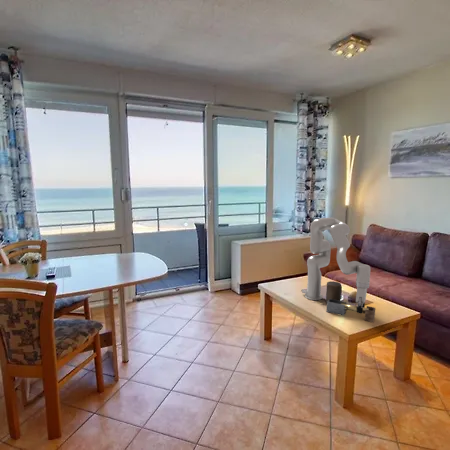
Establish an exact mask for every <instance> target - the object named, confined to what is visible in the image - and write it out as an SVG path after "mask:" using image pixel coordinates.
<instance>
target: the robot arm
mask: <svg viewBox="0 0 450 450" xmlns="http://www.w3.org/2000/svg"><path fill="white" fill-rule="evenodd" d="M309 228H310V238H309V239H310V240H309V251H310V253H311V254H313V255H311V256H309V257H308V258H307V260H306V264H307V286H306V289H302V288H301V292H302V294H304V297H305V299H307V300H310V301H320V300H323V295H322V294H321V292H322V291H321V290H322V272H321V268H325V267H327V266H329V264H330V262H331V250H332V248H331V247H332V245H331V243H330V242H329V240H327V239H324V234H323V231H329V233H330V235H331V237H332V240H333V243H334V245H335V247H336V249H337V250H336V263H337V265H338V267H339V269H340V271H341V273H342V274H343V275H347V276H350V275H352V274H353V275H354V274H356V277H355V278H356V281H355V286H356V287H357V288H356V294H355V303H357V305H356V306H357V312H356V313H357V314H360V315H361V314H363V313H362V311H363V308H366V299H367V293H368V289H369V288H370V281H371V280H370V279H371V271H372V270H371V268H372V267H371V266H370V265H368V264H364V263H362V262H359V261H357V260H352V261H348V258H347V251H348V249H349V248H350V247H351V244H350V241H349V239H348V235H349V234H350V233H351V229H350V226H349V225H348V224H347V223H345V222H344V221H341V220H339V219H337V218H335V217H321V218H320V217H319V218H317V219H314V220H313V221H312V222H311V223H310V227H309Z"/></svg>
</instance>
